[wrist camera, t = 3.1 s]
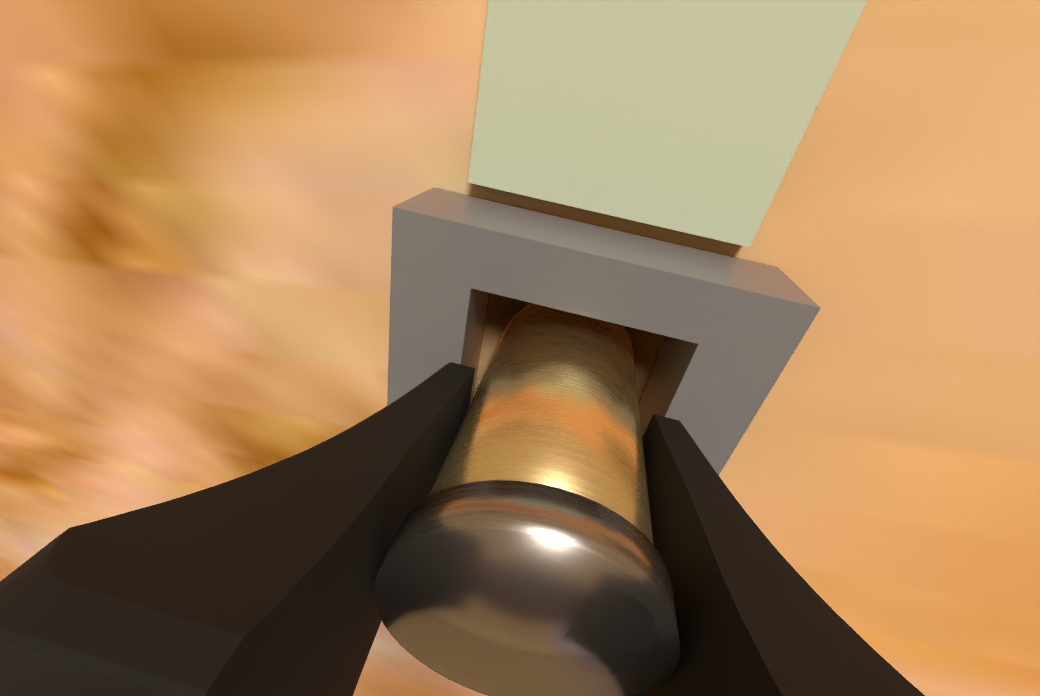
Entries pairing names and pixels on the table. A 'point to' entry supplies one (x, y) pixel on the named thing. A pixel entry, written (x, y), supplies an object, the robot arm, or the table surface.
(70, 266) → the table surface
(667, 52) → the mat
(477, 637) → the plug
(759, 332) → the gray block
